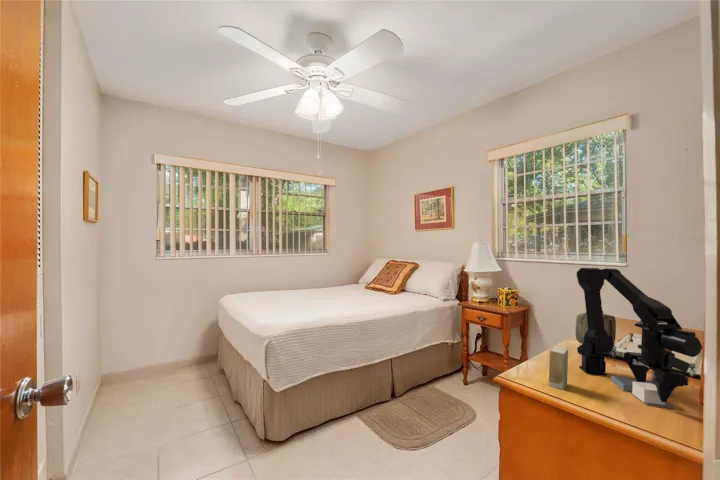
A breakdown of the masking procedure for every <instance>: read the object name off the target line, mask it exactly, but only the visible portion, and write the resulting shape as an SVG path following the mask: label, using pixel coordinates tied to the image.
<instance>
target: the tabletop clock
mask: <svg viewBox="0 0 720 480" xmlns="http://www.w3.org/2000/svg"><path fill="white" fill-rule="evenodd" d="M602 313H603V321H604V329H605V331H606V333H607V334H608V335H612V337H613V345H614V346H615V343H616V333H617V323H616V322H617V321H616V317H615V316H614V315H610V314H607V313H606V314H605V313H604V311H603V310H602ZM587 330H588V323H587V314H586V312H582V313H579V314H577V315H576V320H575V339H576V340H577V342H579V344H581V345H582V344H583V343H584V335H585V334H586V332H587Z"/></svg>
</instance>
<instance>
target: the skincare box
mask: <svg viewBox="0 0 720 480" xmlns="http://www.w3.org/2000/svg"><path fill="white" fill-rule="evenodd" d="M568 365H569V348H568V349H567V348H564V347H560V346H552V348H551V349H549V365H548V366H549V369H548V372H549V373H548V386H550V387H553V388H556V389H559V390H565V388H566V387H567V385H568V372H569V371H568V369H569V366H568Z"/></svg>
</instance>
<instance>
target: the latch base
mask: <svg viewBox="0 0 720 480" xmlns="http://www.w3.org/2000/svg"><path fill="white" fill-rule="evenodd" d="M633 381H634V382H637V380H636V378H635V377H627V376H626V377H625V376H618V375H611V376H610V382H612V384H613V385H615V386H617V387H618V388H619V389H621V390H622V391H624V392H631V393H632V385H633ZM646 383H651V379H647V378H646ZM652 384H653V383H652ZM654 385H655V384H654ZM669 397H674V390H673V391H672V393H671V395H670V396H669Z"/></svg>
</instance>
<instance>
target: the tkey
mask: <svg viewBox="0 0 720 480" xmlns="http://www.w3.org/2000/svg"><path fill="white" fill-rule="evenodd" d="M649 371H650V372H651V378H650V380H651V383H653V384H655V381H654V378H655V379H656V377H655V375H654V371H653V370H651V369H649Z"/></svg>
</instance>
